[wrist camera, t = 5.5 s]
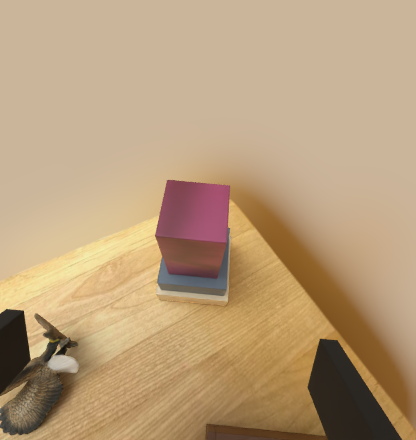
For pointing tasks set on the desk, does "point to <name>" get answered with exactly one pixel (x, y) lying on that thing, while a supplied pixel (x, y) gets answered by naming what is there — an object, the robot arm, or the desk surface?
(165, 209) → the mulberry block
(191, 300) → the cream block
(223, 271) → the slate block
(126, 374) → the desk surface
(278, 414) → the desk surface
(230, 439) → the tray
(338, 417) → the robot arm
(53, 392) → the eagle figurine
